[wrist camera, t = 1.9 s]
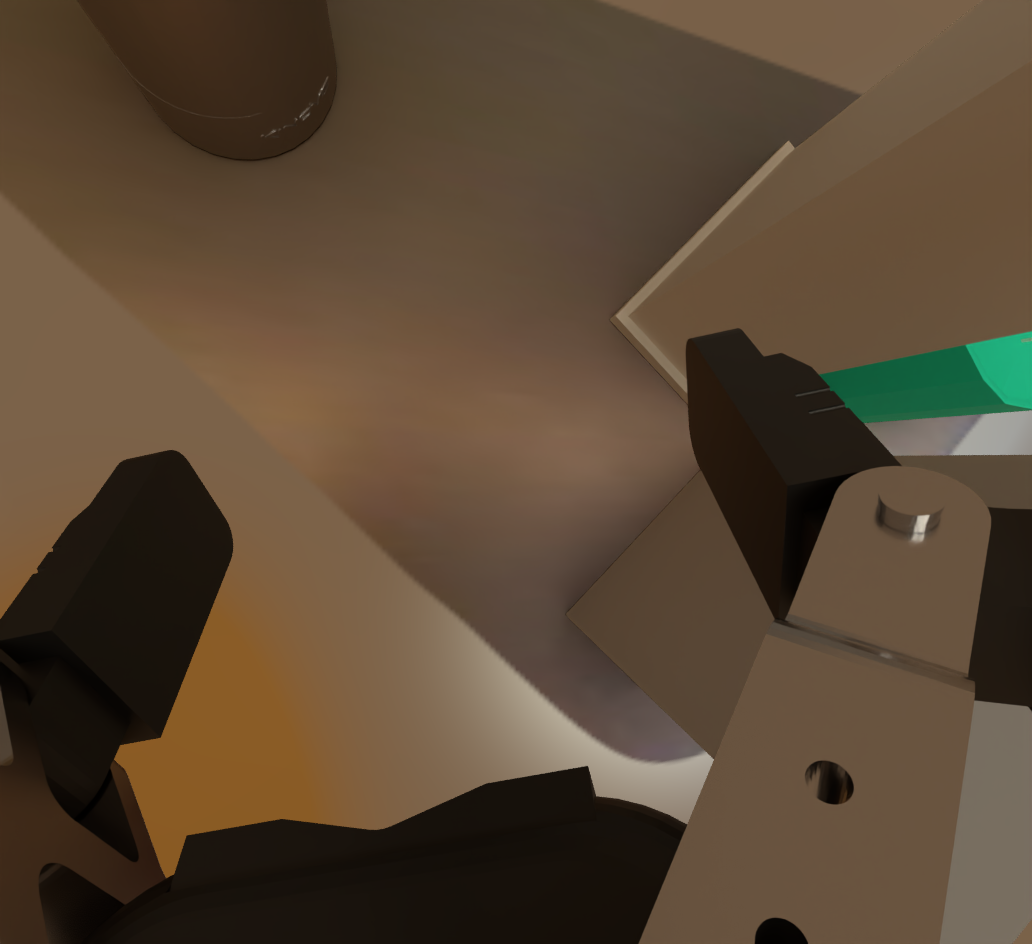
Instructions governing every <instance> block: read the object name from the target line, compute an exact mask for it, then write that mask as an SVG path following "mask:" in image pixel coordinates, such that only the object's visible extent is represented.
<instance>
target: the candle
mask: <svg viewBox="0 0 1032 944" xmlns="http://www.w3.org/2000/svg"><path fill="white" fill-rule="evenodd" d="M819 375H820V376H821V378H822V379H823V380H824V381H825V382H826V383H827V384H828V385H829V386H830V391H834V392H835V393H836V394H837V395H838V396H839V397H840V398H841V399H842V401H843V402H844V403H845V407H846V408H850V409H851V410H852V412H853V413H854V414H855V415H856V416H857V417H858V418H859V419H860V420H861V421H862V422H863V423H869V422H883V421H896V420H909V419H922V418H936V417H949V416H962V415H976V414H989V413H1001V412H1014V411H1029V410H1032V331H1031V332H1026V333H1021V334H1016V335H1011V336H1006V337H1001V338H996V339H991V340H986V341H982V342H977V343H972V344H967V345H962V346H957V347H952V348H947V349H942V350H937V351H932V352H927V353H922V354H917V355H912V356H908V357H903V358H898V359H893V360H888V361H883V362H878V363H873V364H868V365H863V366H858V367H853V368H848V369H843V370H839V371H834V372H829V373H824V374H819Z"/></svg>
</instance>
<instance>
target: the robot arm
mask: <svg viewBox="0 0 1032 944" xmlns="http://www.w3.org/2000/svg"><path fill="white" fill-rule="evenodd" d="M77 1H78V3H79V4H80V6H81V7H82V8H83V10H84V11H85V13H86V14H87V15H88V17H89V18H90V20H91V21H92V22H93V24H94V25H95V27H96V28H97V29H98V31H99V32H100V34H101V35H102V36H103V38H104V39H105V41H106V42H107V43H108V45H109V46H110V48H111V49H112V50H113V52H114V53H115V55H116V56H117V58H118V59H119V61H120V62H121V64H122V65H123V66H124V68H125V69H126V71H127V72H128V73H129V75H130V76H131V78H132V79H133V80H134V82H135V83H136V85H137V86H138V87H139V89H140V90H141V92H142V93H143V94H144V96H145V97H146V99H147V100H148V101H149V103H150V104H151V106H152V107H153V108H154V110H155V111H156V113H157V114H158V115H159V117H160V118H161V119H162V120H163V121H164V122H165V123H166V124H167V125H168V126H169V127H170V128H171V129H172V130H173V131H174V132H175V133H176V134H178V135H179V136H181V137H182V138H183V139H185V140H186V141H188V142H189V143H191V144H192V145H194V146H196V147H198V148H201V149H203V150H205V151H207V152H210V153H212V154H215V155H219V156H224V157H228V158H232V159H261V158H266V157H272V156H276V155H279V154H281V153H283V152H286V151H288V150H291V149H293V148H295V147H296V146H298V145H299V144H300V143H302V142H303V141H305V140H306V139H307V138H309V137H310V136H311V135H312V134H313V132H314V131H315V130H316V129H317V128H318V127H319V126H320V124H321V123H322V122H323V120H324V118H325V116H326V114H327V113H328V111H329V109H330V107H331V104H332V101H333V97H334V93H335V89H336V77H337V65H336V59H335V53H334V47H333V40H332V34H331V28H330V22H329V15H328V8H327V1H326V0H77ZM686 375H687V395H688V415H689V430H690V437H691V442H692V447H693V451H694V454H695V457H696V460H697V463H698V465H699V467H700V469H701V471H702V473H703V475H704V477H705V479H706V481H707V483H708V485H709V487H710V489H711V491H712V493H713V495H714V497H715V499H716V501H717V503H718V505H719V507H720V510H721V512H722V514H723V516H724V518H725V520H726V522H727V524H728V526H729V528H730V530H731V532H732V534H733V536H734V538H735V540H736V542H737V544H738V546H739V548H740V550H741V552H742V554H743V556H744V558H745V560H746V562H747V564H748V566H749V568H750V570H751V572H752V574H753V576H754V578H755V580H756V582H757V584H758V586H759V588H760V590H761V593H762V595H763V597H764V599H765V601H766V603H767V605H768V607H769V609H770V611H771V613H772V615H773V617H774V619H775V620H774V621H773V622H772V624H771V625H770V627H769V629H768V631H767V633H766V635H765V637H764V639H763V642H762V644H761V647H760V649H759V651H758V654H757V656H756V659H755V661H754V664H753V666H752V668H751V671H750V673H749V676H748V678H747V681H746V683H745V686H744V688H743V690H742V693H741V695H740V698H739V700H738V703H737V705H736V707H735V710H734V712H733V715H732V717H731V720H730V722H729V725H728V727H727V729H726V732H725V734H724V737H723V739H722V742H721V744H720V746H719V749H718V751H717V754H716V756H715V759H714V761H713V764H712V766H711V769H710V771H709V773H708V776H707V778H706V781H705V783H704V786H703V788H702V790H701V793H700V795H699V798H698V800H697V803H696V805H695V807H694V810H693V812H692V815H691V817H690V820H689V822H688V824H685V823H683V822H681V821H679V820H677V819H676V818H674V817H671V816H670V815H668V814H665V813H663V812H660V811H657V810H655V809H652V808H650V807H647V806H644V805H641V804H637V803H633V802H629V801H624V800H620V799H614V798H606V797H596V794H595V790H594V787H593V783H592V780H591V775H590V772H589V768H588V766H585V767H580V768H573V769H568V770H562V771H556V772H550V773H545V774H539V775H533V776H528V777H522V778H516V779H510V780H504V781H498V782H493V783H487V784H484V785H482V786H480V787H478V788H475V789H473V790H471V791H469V792H466V793H464V794H462V795H460V796H457V797H455V798H453V799H451V800H449V801H446V802H444V803H442V804H440V805H438V806H435V807H433V808H431V809H429V810H426V811H424V812H422V813H420V814H417V815H415V816H413V817H411V818H408V819H406V820H404V821H402V822H400V823H397V824H395V825H393V826H391V827H388V828H385V829H380V830H366V829H357V828H349V827H342V826H333V825H326V824H318V823H310V822H301V821H293V820H285V819H280V820H275V821H268V822H262V823H257V824H251V825H245V826H239V827H234V828H228V829H222V830H216V831H211V832H206V833H199V834H194V835H188V836H186V840H185V843H184V846H183V849H182V852H181V855H180V858H179V861H178V865H177V868H176V871H175V874H174V875H172V876H170V877H168V878H166V877H165V875H164V874H163V871H162V869H161V867H160V864H159V861H158V858H157V856H156V853H155V850H154V847H153V845H152V842H151V839H150V836H149V833H148V830H147V828H146V825H145V822H144V819H143V817H142V814H141V811H140V808H139V806H138V803H137V800H136V797H135V794H134V792H133V789H132V786H131V783H130V781H129V778H128V775H127V773H126V771H125V770H124V768H123V767H121V766H120V765H119V764H118V763H117V762H116V761H115V760H114V758H115V755H116V753H117V751H118V749H119V746H120V745H123V744H129V743H134V742H140V741H145V740H150V739H156V738H160V737H161V735H162V732H163V730H164V727H165V725H166V722H167V720H168V717H169V715H170V712H171V710H172V707H173V705H174V702H175V700H176V697H177V695H178V692H179V690H180V687H181V684H182V682H183V679H184V677H185V674H186V672H187V669H188V667H189V664H190V662H191V659H192V657H193V654H194V652H195V649H196V647H197V644H198V642H199V639H200V636H201V634H202V631H203V629H204V626H205V624H206V621H207V619H208V616H209V614H210V611H211V609H212V606H213V603H214V601H215V598H216V596H217V593H218V591H219V588H220V586H221V583H222V581H223V578H224V576H225V573H226V571H227V568H228V566H229V563H230V561H231V557H232V553H233V539H232V534H231V530H230V527H229V524H228V522H227V520H226V519H225V517H224V516H223V514H222V513H221V511H220V509H219V508H218V506H217V505H216V503H215V502H214V500H213V499H212V497H211V496H210V494H209V492H208V491H207V489H206V488H205V486H204V485H203V483H202V482H201V480H200V479H199V477H198V475H197V474H196V472H195V471H194V469H193V468H192V466H191V465H190V463H189V462H188V461H187V459H186V458H185V457H184V456H183V455H182V454H181V453H179V452H177V451H174V450H168V451H163V452H158V453H154V454H149V455H145V456H140V457H135V458H131V459H126V460H124V461H122V462H120V463H119V465H118V466H117V467H116V469H115V470H114V471H113V473H112V474H111V476H110V477H109V478H108V480H107V481H106V483H105V484H104V485H103V487H102V488H101V490H100V491H99V493H98V494H97V495H96V497H95V498H94V500H93V501H92V502H91V504H90V505H89V506H88V507H87V508H86V509H85V510H83V511H82V512H81V513H80V514H79V515H78V516H77V517H76V518H74V519H73V520H72V521H71V522H70V523H69V525H68V526H67V527H66V529H65V530H64V532H63V533H62V534H61V536H60V537H59V539H58V540H57V541H56V543H55V544H54V546H53V547H52V548H53V552H49V553H48V554H47V555H46V557H45V558H44V559H43V561H42V562H41V564H40V565H39V566H38V568H37V570H38V573H36V574H33V575H32V576H31V577H30V579H29V580H28V582H27V583H26V584H25V586H24V587H23V589H22V590H21V592H20V593H19V594H18V595H17V597H16V598H15V600H14V601H13V603H12V604H11V605H10V607H9V608H8V609H7V611H6V612H5V614H4V615H3V616H2V618H1V619H0V944H940V937H941V930H942V923H943V916H944V909H945V902H946V895H947V888H948V881H949V875H950V868H951V861H952V854H953V847H954V840H955V833H956V826H957V819H958V812H959V805H960V798H961V791H962V784H963V777H964V770H965V763H966V756H967V750H968V743H969V736H970V729H971V722H972V715H973V707H974V701H983V702H992V703H1000V704H1009V705H1018V706H1027V707H1029V709H1030V710H1031V711H1032V509H1008V508H994V507H987V506H986V504H985V503H984V501H983V500H982V499H981V498H980V497H979V496H978V495H977V493H975V492H974V491H973V490H971V489H970V488H969V487H968V486H966V485H964V484H963V483H961V482H959V481H958V480H955V479H953V478H951V477H949V476H946V475H944V474H941V473H938V472H935V471H931V470H926V469H922V468H915V467H907V466H902V465H901V464H900V463H899V462H898V461H897V460H896V459H895V458H894V456H893V455H892V454H891V453H890V452H889V451H888V450H887V449H886V448H885V447H884V445H883V444H882V443H881V442H880V441H879V440H878V439H877V438H876V437H875V436H874V435H873V433H872V432H871V431H870V430H869V429H868V428H867V427H866V426H865V425H864V424H863V422H862V421H861V420H860V419H859V418H858V417H857V416H856V415H855V414H854V413H853V412H852V410H851V409H850V408H846V407H845V403H844V402H843V401H842V399H841V398H840V397H839V396H838V395H837V394H836V393H835V392H834V391H830V386H829V385H828V384H827V383H826V382H825V381H824V380H823V379H822V378H821V376H820V375H819V374H818V373H817V372H816V371H815V370H814V369H813V368H812V367H811V366H809V365H807V364H805V363H803V362H800V361H798V360H796V359H794V358H792V357H790V356H787V355H785V354H783V353H778V354H773V355H769V356H763V355H762V354H761V353H760V351H759V350H758V349H757V348H756V346H755V345H754V344H753V343H752V341H751V340H750V339H749V338H748V337H747V335H746V334H745V333H744V332H743V331H742V330H741V329H740V328H736V329H731V330H727V331H722V332H717V333H713V334H708V335H703V336H699V337H694V338H690V339H688V340H687V343H686Z"/></svg>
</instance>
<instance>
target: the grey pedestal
mask: <svg viewBox="0 0 1032 944" xmlns="http://www.w3.org/2000/svg"><path fill="white" fill-rule="evenodd" d="M894 458H895V459H896V460H897V461H898V462H899V463H900V464H901V465H902V466H907V467H915V468H922V469H926V470H931V471H935V472H938V473H941V474H944V475H946V476H949V477H951V478H953V479H955V480H958V481H959V482H961V483H963V484H964V485H966V486H968V487H969V488H970V489H971V490H973V491H974V492H975V493H977V495H978V496H979V497H980V498H981V499H982V500H983V501H984V503H985V504H986V506H987V507H994V508H1008V509H1032V455H968V456H967V455H946V456H894ZM565 615H566V616H567V617H568V618H569V619H570V620H571V621H572V622H573V623H574V624H575V625H576V626H577V627H578V628H579V629H580V630H581V631H582V632H583V633H584V634H585V635H586V636H587V637H589V638H590V639H591V640H592V641H593V642H594V643H595V644H596V645H597V646H598V647H599V648H600V649H601V650H602V651H603V652H604V653H605V654H606V655H607V656H608V657H609V658H610V659H611V660H612V661H613V662H614V663H615V664H616V665H617V666H618V667H619V668H620V669H621V670H622V671H623V672H624V673H625V674H626V675H627V676H628V677H629V678H630V679H631V680H633V681H634V682H635V683H636V684H637V685H638V686H639V687H640V688H641V689H642V690H643V691H644V692H645V693H646V694H647V695H648V696H649V697H650V698H651V699H652V700H653V701H654V702H655V703H656V704H657V705H658V706H659V707H660V708H661V709H662V710H663V711H664V712H666V713H667V714H668V715H669V716H670V717H671V718H672V719H673V720H674V721H675V722H676V723H677V724H678V725H679V726H680V727H681V728H682V729H683V730H684V731H685V732H686V733H687V734H688V735H689V736H690V737H691V738H692V739H693V740H694V741H695V742H697V743H698V744H699V745H700V746H701V747H702V748H703V749H704V750H705V751H706V752H707V753H708V754H709V755H710V756H711V757H712V758H713V759H715V756H716V754H717V751H718V749H719V746H720V744H721V742H722V739H723V737H724V734H725V732H726V729H727V727H728V725H729V722H730V720H731V717H732V715H733V712H734V710H735V707H736V705H737V703H738V700H739V698H740V695H741V693H742V690H743V688H744V686H745V683H746V681H747V678H748V676H749V673H750V671H751V668H752V666H753V664H754V661H755V659H756V656H757V654H758V651H759V649H760V647H761V644H762V642H763V639H764V637H765V635H766V633H767V631H768V629H769V627H770V625H771V624H772V622H773V621H774V620H775V619H774V617H773V615H772V613H771V611H770V609H769V607H768V605H767V603H766V601H765V599H764V597H763V595H762V593H761V590H760V588H759V586H758V584H757V582H756V580H755V578H754V576H753V574H752V572H751V570H750V568H749V566H748V564H747V562H746V560H745V558H744V556H743V554H742V552H741V550H740V548H739V546H738V544H737V542H736V540H735V538H734V536H733V534H732V532H731V530H730V528H729V526H728V524H727V522H726V520H725V518H724V516H723V514H722V512H721V510H720V507H719V505H718V503H717V501H716V499H715V497H714V495H713V493H712V491H711V489H710V487H709V485H708V483H707V481H706V479H705V477H704V475H703V473H702V471H701V470H700V471H699V472H698V473H697V474H696V475H695V476H694V477H693V478H692V480H691V481H690V482H689V483H688V484H687V485H686V486H685V487H684V488H683V489H682V490H681V491H680V492H679V493H678V495H677V496H676V497H675V498H674V499H673V500H672V501H671V502H670V503H669V504H668V505H667V506H666V507H665V508H664V509H663V511H662V512H661V513H660V514H659V515H658V516H657V517H656V518H655V519H654V520H653V521H652V522H651V523H650V524H649V526H648V527H647V528H646V529H645V530H644V531H643V532H642V533H641V534H640V535H639V536H638V537H637V538H636V539H635V541H634V542H633V543H632V544H631V545H630V546H629V547H628V548H627V549H626V550H625V551H624V552H623V553H622V554H621V556H620V557H619V558H618V559H617V560H616V561H615V562H614V563H613V564H612V565H611V566H610V567H609V568H608V569H607V570H606V572H605V573H604V574H603V575H602V576H601V577H600V578H599V579H598V580H597V581H596V582H595V583H594V584H593V585H592V587H591V588H590V589H589V590H588V591H587V592H586V593H585V594H584V595H583V596H582V597H581V598H580V599H579V600H578V602H577V603H576V604H575V605H574V606H573V607H572V608H571V609H570V610H569V611H568V612H567V613H566V614H565ZM1031 919H1032V711H1031V710H1030V709H1029V707H1027V706H1018V705H1009V704H1000V703H992V702H983V701H974V707H973V715H972V722H971V729H970V736H969V743H968V750H967V756H966V763H965V770H964V777H963V784H962V791H961V798H960V805H959V812H958V819H957V826H956V833H955V840H954V847H953V854H952V861H951V868H950V875H949V881H948V888H947V895H946V902H945V909H944V916H943V923H942V930H941V937H940V944H1012V943H1013V942H1014V941H1015V940H1016V938H1017V937H1018V936H1019V934H1020V933H1021V932H1022V931H1023V929H1024V928H1025V927H1026V925H1027V924H1028V923H1029V922H1030V920H1031Z"/></svg>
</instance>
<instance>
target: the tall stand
mask: <svg viewBox="0 0 1032 944" xmlns="http://www.w3.org/2000/svg"><path fill="white" fill-rule="evenodd" d="M610 321H611V322H612V323H613V324H614V325H615V326H616V327H617V329H618V330H619V331H620V332H621V333H622V334H623V335H624V336H625V337H626V338H627V339H628V340H629V342H630V343H631V344H632V345H633V346H634V347H635V348H636V349H637V350H638V351H639V352H640V353H641V355H642V356H643V357H644V358H645V359H646V360H647V361H648V362H649V363H650V364H651V365H652V366H653V368H654V369H655V370H656V371H657V372H658V373H659V374H660V375H661V376H662V377H663V378H664V379H665V380H666V382H667V383H668V384H669V385H670V386H671V387H672V388H673V389H674V390H675V391H676V392H677V393H678V395H679V396H680V397H681V398H682V399H683V400H684V401H685V402H686V403H687V404H688V395H687V375H686V343H687V340H688V339H690V338H694V337H699V336H703V335H708V334H713V333H717V332H722V331H727V330H731V329H736V328H740V329H741V330H742V331H743V332H744V333H745V334H746V335H747V337H748V338H749V339H750V340H751V341H752V343H753V344H754V345H755V346H756V348H757V349H758V350H759V351H760V353H761V354H762V355H763V356H769V355H773V354H778V353H783V354H785V355H787V356H790V357H792V358H794V359H796V360H798V361H800V362H803V363H805V364H807V365H809V366H811V367H812V368H813V369H814V370H815V371H816V372H817V373H818V374H824V373H829V372H834V371H839V370H843V369H848V368H853V367H858V366H863V365H868V364H873V363H878V362H883V361H888V360H893V359H898V358H903V357H908V356H912V355H917V354H922V353H927V352H932V351H937V350H942V349H947V348H952V347H957V346H962V345H967V344H972V343H977V342H982V341H986V340H991V339H996V338H1001V337H1006V336H1011V335H1016V334H1021V333H1026V332H1031V331H1032V0H982V1H981V2H979V3H978V4H977V5H976V6H974V7H973V8H972V9H971V10H969V11H968V12H967V13H966V14H964V15H963V16H962V17H960V18H959V19H958V20H957V21H955V22H954V23H953V24H952V25H950V26H949V27H948V28H947V29H945V30H944V31H943V32H942V33H940V34H939V35H938V36H937V37H935V38H934V39H933V40H931V41H930V42H929V43H928V44H927V45H925V46H924V47H923V48H921V49H920V50H919V51H918V52H916V53H915V54H914V55H913V56H911V57H910V58H909V59H907V60H906V61H905V62H904V63H902V64H901V65H900V66H899V67H897V68H896V69H895V70H894V71H892V72H891V73H890V74H889V75H887V76H886V77H885V78H883V79H882V80H881V81H880V82H879V83H877V84H876V85H875V86H873V87H872V88H871V89H870V90H868V91H867V92H866V93H865V94H863V95H862V96H861V97H859V98H858V99H857V100H856V101H854V102H853V103H852V104H851V105H849V106H848V107H847V108H846V109H844V110H843V111H842V112H841V113H839V114H838V115H837V116H835V117H834V118H833V119H832V120H830V121H829V122H828V123H827V124H825V125H824V126H823V127H822V128H820V129H819V130H818V131H817V132H815V133H814V134H813V135H811V136H810V137H809V138H808V139H806V140H805V141H804V142H803V143H801V144H800V145H799V146H798V147H796V148H794V147H793V145H792V144H791V143H790V142H789V141H788V142H786V143H785V144H784V145H783V146H782V147H780V148H779V149H778V150H777V151H776V152H775V153H774V154H773V155H772V156H771V157H770V158H769V159H768V160H767V161H766V162H765V163H764V164H763V165H762V166H761V167H760V168H759V169H758V170H757V171H756V172H755V173H754V174H753V175H752V176H751V177H750V178H749V179H748V180H747V181H746V182H745V183H744V184H743V185H742V186H741V187H740V188H739V189H738V190H737V191H736V192H735V193H734V194H733V195H732V196H731V197H730V198H729V199H728V200H727V201H726V202H725V203H724V204H723V205H722V207H721V208H720V209H719V210H718V211H717V212H716V213H715V214H714V215H713V216H712V217H711V218H710V219H709V220H708V221H707V222H706V223H705V224H704V225H703V226H702V227H701V228H700V229H699V230H698V231H697V232H696V233H695V234H694V235H693V236H692V237H691V238H690V239H689V240H688V241H687V242H686V243H685V244H684V245H683V246H682V247H681V248H680V249H679V250H678V251H677V252H676V253H675V254H674V255H673V256H672V257H671V258H670V259H669V260H668V261H667V262H666V263H665V264H664V265H663V266H662V267H661V268H660V269H659V270H658V271H657V272H656V273H655V274H654V275H653V276H652V277H651V278H650V279H649V280H648V281H647V282H646V283H645V284H644V285H643V286H642V287H641V288H640V289H639V290H638V291H637V292H636V293H635V294H634V295H633V296H632V297H631V298H630V299H629V300H628V301H627V302H626V303H625V304H624V306H623V307H622V308H621V309H620V310H619V311H618V312H617V313H616V314H615V315H614V316H613V317H612V318H611V319H610Z"/></svg>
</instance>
